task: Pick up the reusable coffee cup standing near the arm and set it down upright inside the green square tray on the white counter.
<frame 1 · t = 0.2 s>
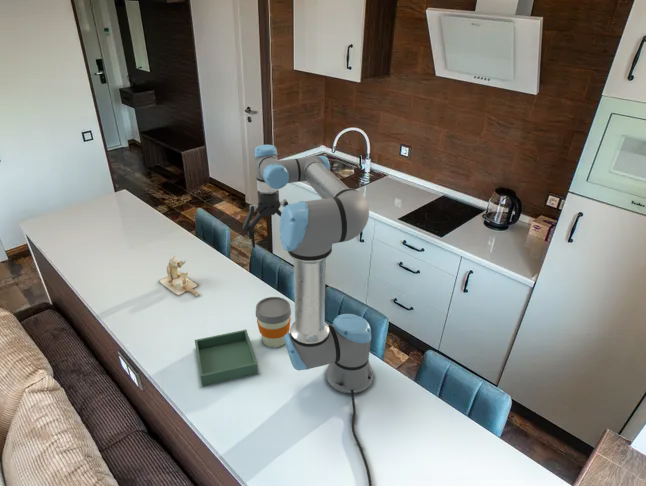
hand: (271, 243, 171), 28 cm above the breakfast bar, tool pointing down, fingers open, 13 cm apart
reusable coffee cup: (275, 339, 167), on the breakfast bar
green square tray: (226, 361, 157), on the breakfast bar
wooden toy: (182, 287, 196), on the breakfast bar
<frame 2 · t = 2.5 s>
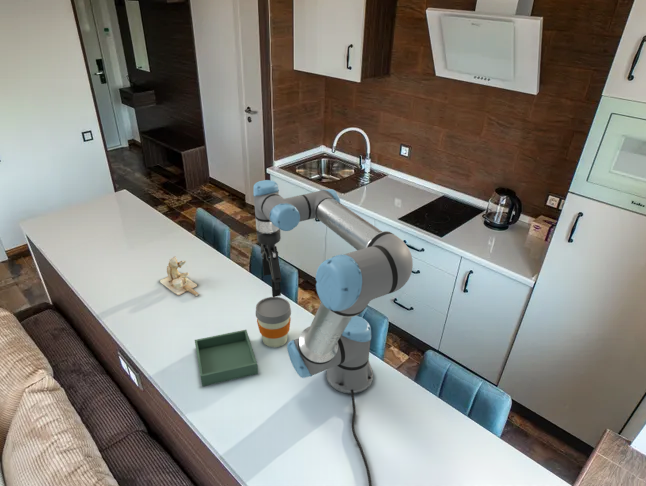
hand: (271, 284, 155), 23 cm above the breakfast bar, tool pointing down, fingers open, 13 cm apart
nothing on the breakfast bar moved.
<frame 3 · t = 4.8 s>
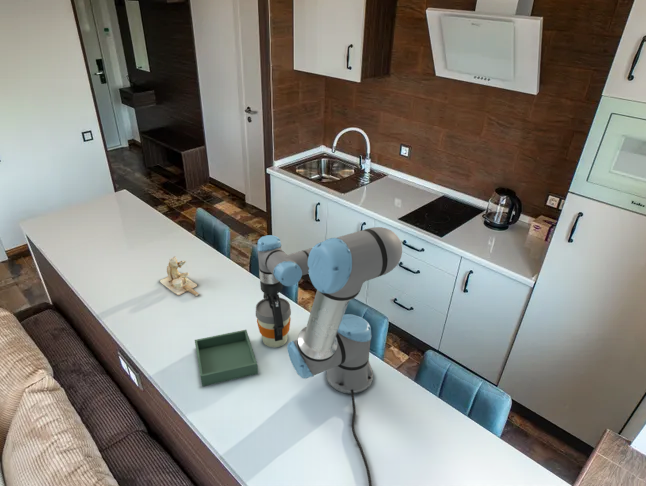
hand: (274, 328, 164), 5 cm above the breakfast bar, tool pointing down, fingers closed on reusable coffee cup, 12 cm apart
reusable coffee cup: (275, 339, 167), on the breakfast bar, touching gripper
everything else where it was.
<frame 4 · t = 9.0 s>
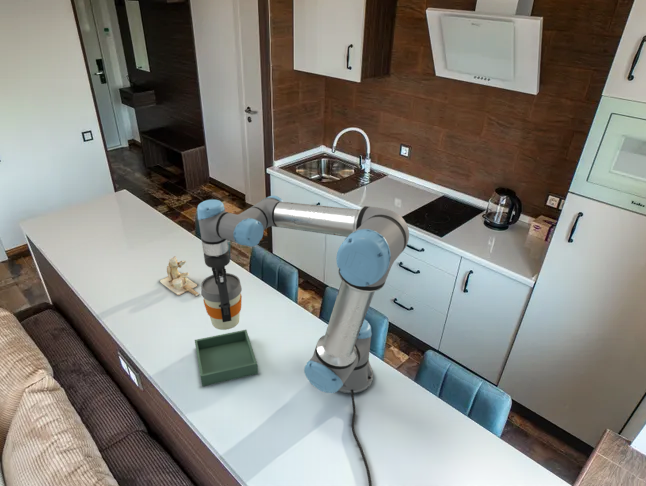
hand: (223, 308, 146), 22 cm above the breakfast bar, tool pointing down, fingers closed on reusable coffee cup, 12 cm apart
reusable coffee cup: (225, 321, 149), point 17 cm above the breakfast bar, touching gripper
everything else where it was.
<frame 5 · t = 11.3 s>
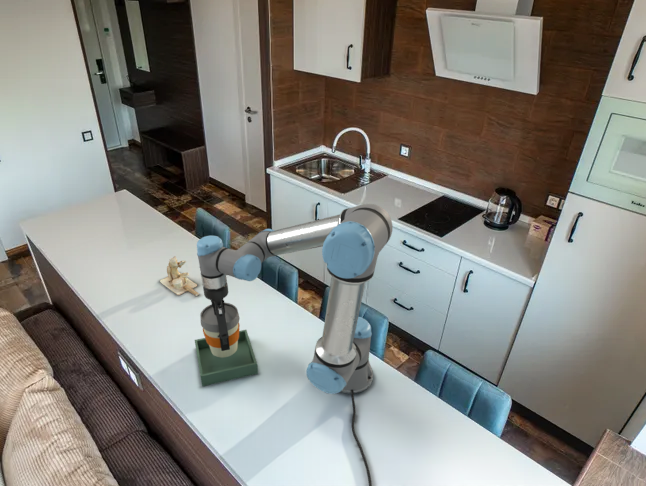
hand: (222, 336, 151), 11 cm above the breakfast bar, tool pointing down, fingers closed on reusable coffee cup, 12 cm apart
reusable coffee cup: (224, 348, 154), point 6 cm above the breakfast bar, touching gripper
everything else where it was.
when the fingers open (6 cm above the breakfast bar, at t = 13.4 s): reusable coffee cup stays where it is, resting on green square tray.
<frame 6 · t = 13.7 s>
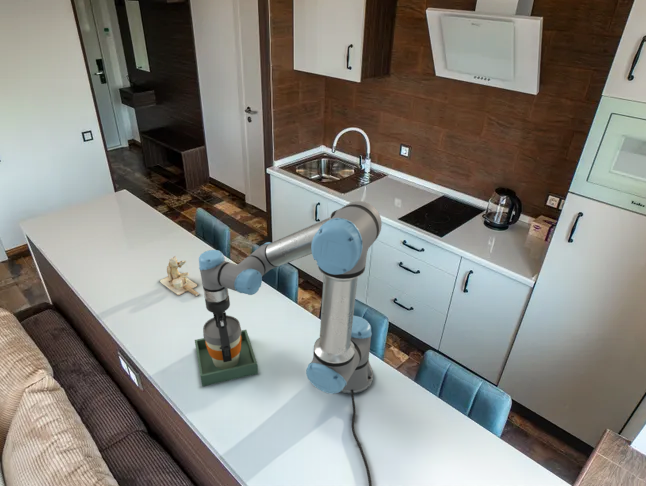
hand: (224, 347, 154), 6 cm above the breakfast bar, tool pointing down, fingers open, 13 cm apart
reusable coffee cup: (226, 360, 157), resting on green square tray
everything else where it was.
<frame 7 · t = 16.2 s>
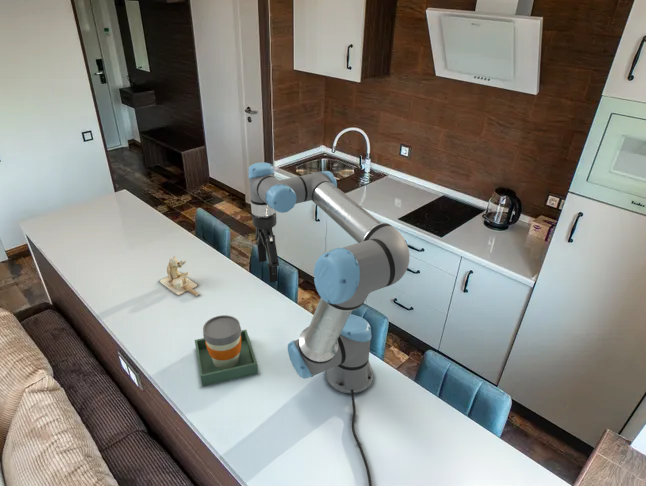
hand: (267, 270, 153), 29 cm above the breakfast bar, tool pointing down, fingers open, 13 cm apart
nothing on the breakfast bar moved.
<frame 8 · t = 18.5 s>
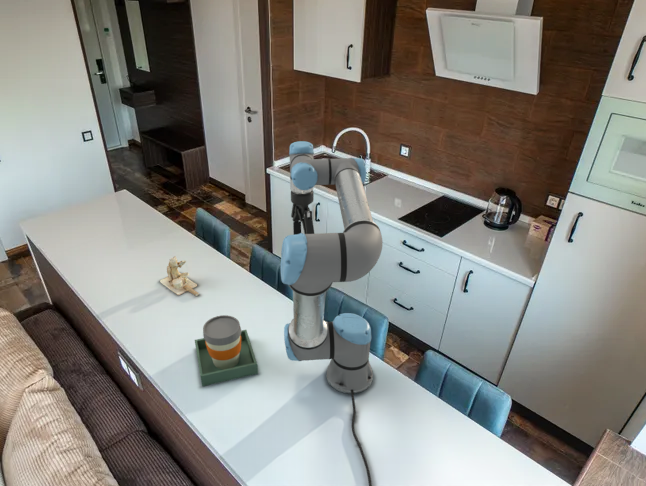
hand: (302, 247, 160), 32 cm above the breakfast bar, tool pointing down, fingers open, 13 cm apart
nothing on the breakfast bar moved.
at the end: reusable coffee cup inside the target area in the green square tray (0.1 cm from its centre), point 0.4 cm above the green square tray's base; reusable coffee cup tilted 0°; the gripper is holding nothing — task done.
